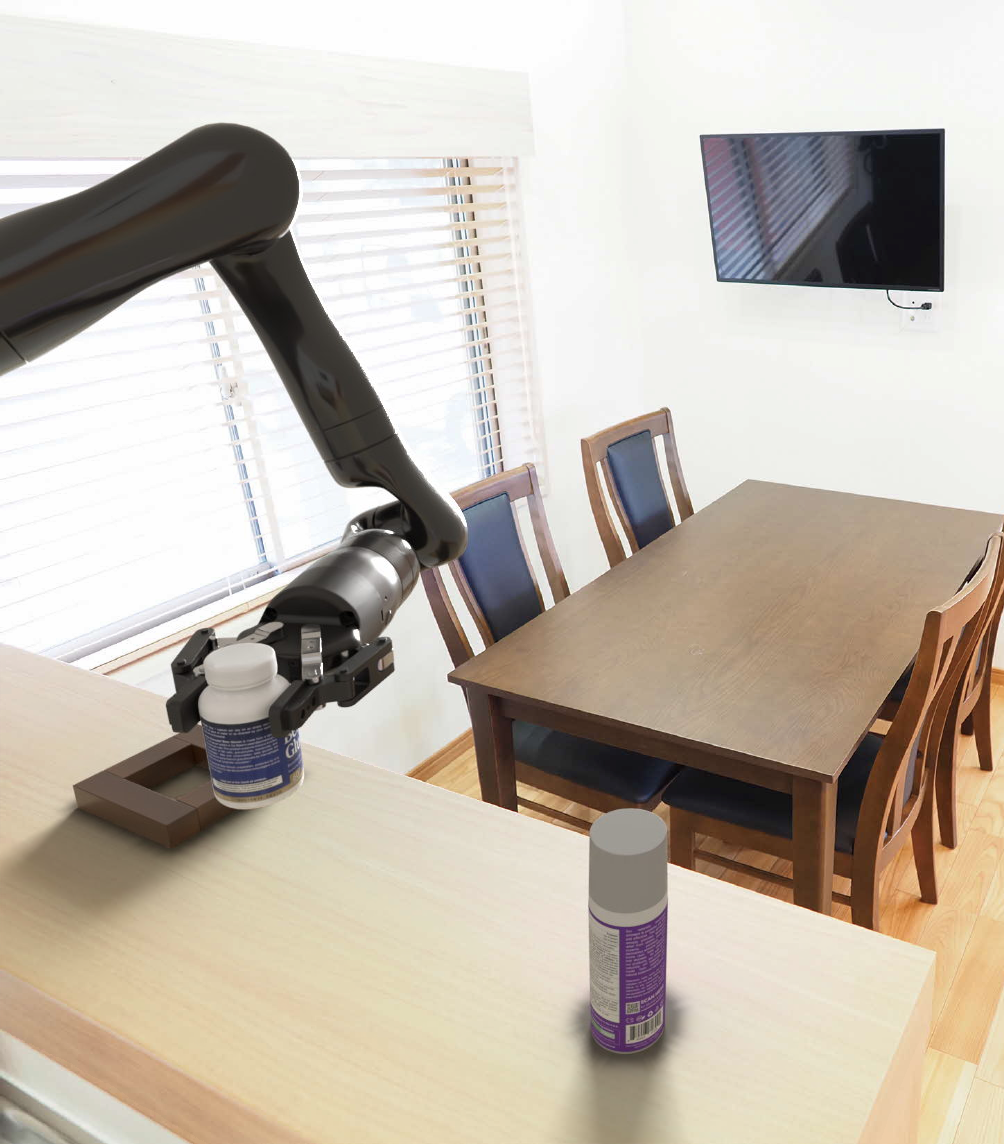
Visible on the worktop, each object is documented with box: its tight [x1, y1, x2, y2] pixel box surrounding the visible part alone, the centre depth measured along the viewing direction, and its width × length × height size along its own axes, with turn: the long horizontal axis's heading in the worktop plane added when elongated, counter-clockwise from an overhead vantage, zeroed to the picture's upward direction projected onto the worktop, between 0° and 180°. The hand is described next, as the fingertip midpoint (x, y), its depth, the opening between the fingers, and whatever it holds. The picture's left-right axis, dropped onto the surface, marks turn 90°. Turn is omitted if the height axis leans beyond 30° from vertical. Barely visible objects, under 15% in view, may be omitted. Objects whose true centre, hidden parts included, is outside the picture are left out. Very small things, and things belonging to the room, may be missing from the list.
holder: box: [72, 723, 238, 850], centre depth 80 cm, size 11×11×2 cm
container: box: [587, 808, 669, 1055], centre depth 58 cm, size 5×5×15 cm
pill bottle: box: [198, 643, 305, 810], centre depth 62 cm, size 5×5×10 cm
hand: (226, 722), depth 59 cm, fingers closed on pill bottle, 5 cm apart
